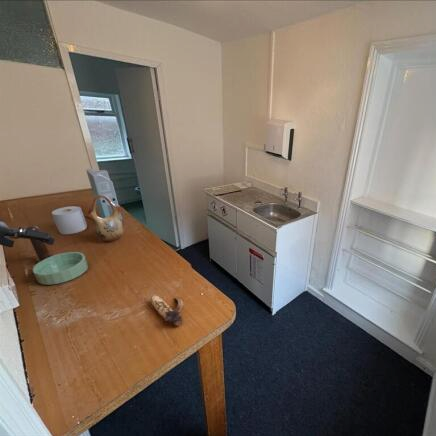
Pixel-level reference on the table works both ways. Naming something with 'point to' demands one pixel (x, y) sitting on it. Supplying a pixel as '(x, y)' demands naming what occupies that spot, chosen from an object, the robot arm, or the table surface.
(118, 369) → the table surface
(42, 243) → the pestle
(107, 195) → the device
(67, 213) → the toilet paper roll
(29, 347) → the table surface
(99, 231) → the ceramic vessel
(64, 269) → the bowl
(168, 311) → the bone fish hook
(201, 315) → the table surface
